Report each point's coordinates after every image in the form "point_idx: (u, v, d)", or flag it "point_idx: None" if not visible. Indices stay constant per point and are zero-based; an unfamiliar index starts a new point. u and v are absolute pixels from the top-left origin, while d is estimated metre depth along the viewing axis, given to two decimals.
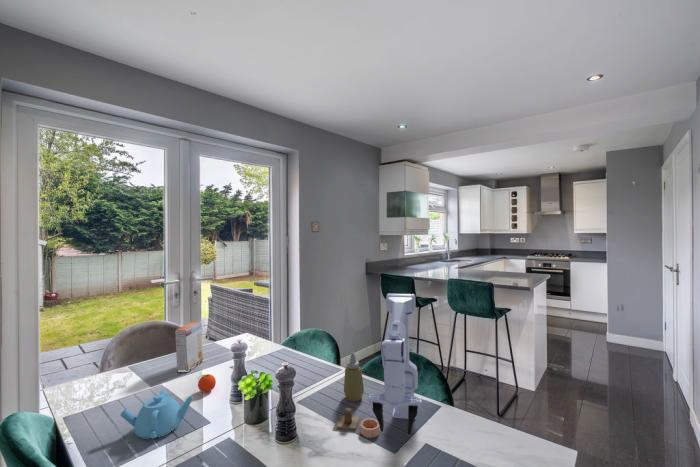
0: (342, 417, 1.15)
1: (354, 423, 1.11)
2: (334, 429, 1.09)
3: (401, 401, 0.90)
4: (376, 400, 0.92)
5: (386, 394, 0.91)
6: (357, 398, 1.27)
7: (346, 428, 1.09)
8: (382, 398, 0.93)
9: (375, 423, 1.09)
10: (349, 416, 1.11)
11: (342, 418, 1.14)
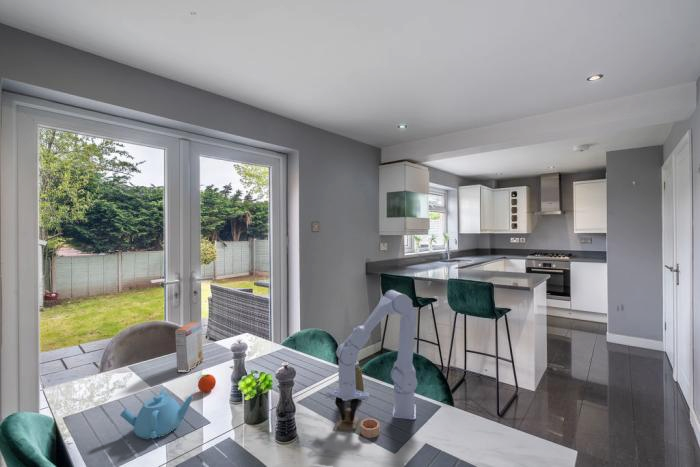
0: None
1: (354, 423, 1.11)
2: (334, 429, 1.09)
3: (351, 395, 1.10)
4: (332, 394, 1.12)
5: (339, 389, 1.11)
6: None
7: (346, 428, 1.09)
8: (337, 392, 1.12)
9: (375, 423, 1.09)
10: (349, 416, 1.11)
11: None
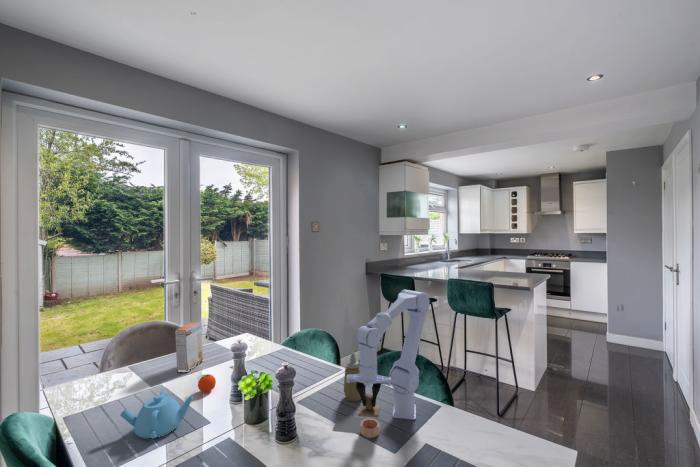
0: (362, 405, 1.10)
1: (375, 410, 1.06)
2: (334, 429, 1.09)
3: (373, 379, 1.05)
4: (352, 379, 1.07)
5: (361, 373, 1.06)
6: (357, 398, 1.27)
7: (368, 415, 1.04)
8: (358, 377, 1.08)
9: (375, 423, 1.09)
10: (371, 403, 1.06)
11: (362, 405, 1.09)
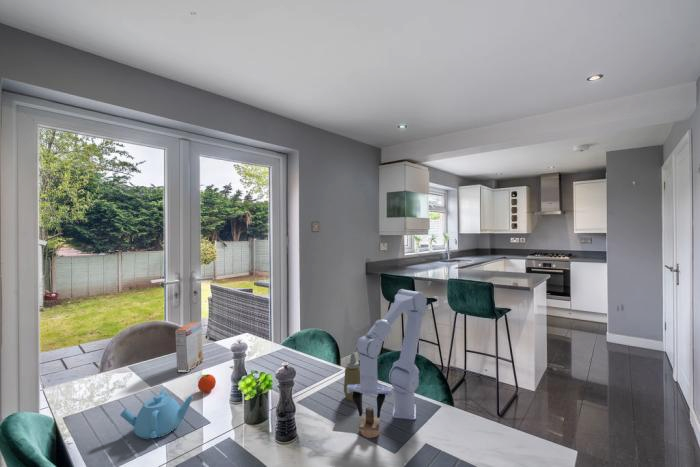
0: (363, 417, 1.10)
1: (376, 423, 1.06)
2: (334, 429, 1.09)
3: (374, 390, 1.05)
4: (353, 389, 1.07)
5: (361, 384, 1.06)
6: None
7: (369, 428, 1.04)
8: (358, 387, 1.08)
9: None
10: (372, 416, 1.06)
11: (363, 418, 1.09)
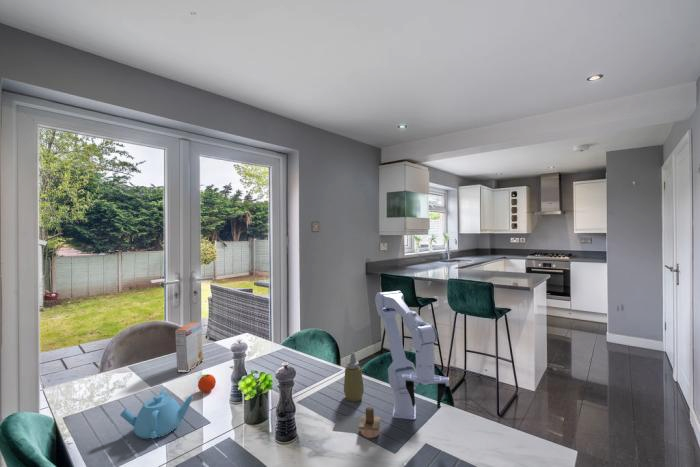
0: (363, 417, 1.10)
1: (376, 423, 1.06)
2: (334, 429, 1.09)
3: (431, 379, 1.02)
4: (409, 378, 1.05)
5: (418, 373, 1.03)
6: (357, 398, 1.27)
7: (369, 428, 1.04)
8: (414, 377, 1.05)
9: None
10: (372, 416, 1.06)
11: (363, 418, 1.09)
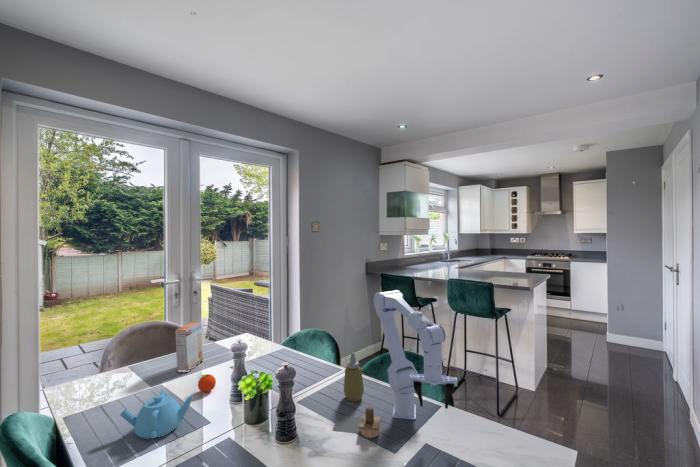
0: (363, 417, 1.10)
1: (376, 423, 1.06)
2: (334, 429, 1.09)
3: (439, 379, 1.02)
4: (417, 379, 1.04)
5: (426, 373, 1.03)
6: (357, 398, 1.27)
7: (369, 428, 1.04)
8: (422, 377, 1.05)
9: None
10: (372, 416, 1.06)
11: (363, 418, 1.09)
